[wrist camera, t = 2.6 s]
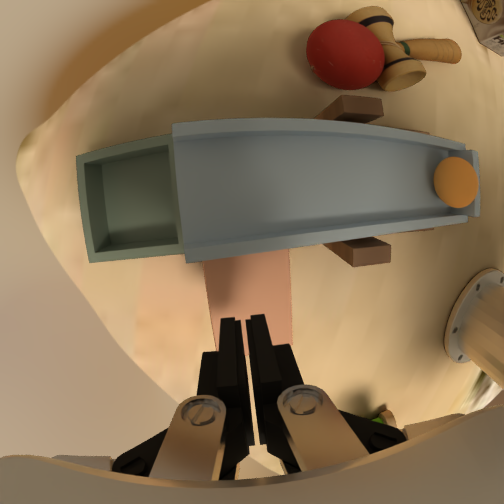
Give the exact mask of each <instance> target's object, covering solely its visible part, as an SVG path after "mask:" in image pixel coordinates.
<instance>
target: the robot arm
mask: <svg viewBox="0 0 504 504" xmlns="http://www.w3.org/2000/svg"><path fill="white" fill-rule="evenodd" d="M250 317H251V319H245V322H246V331H247V340H248V349H249V358H250V367H251V375H252V384H253V392H254V400H255V408H256V416H257V424H258V432H259V440H260V445H263V444H266V445H267V451H268V453H270V454H272V455H274V456H276V457H278V458H280V464H281V466H282V469H283V471H284V474H285V475H280V476H272V477H264V478H255V479H242V480H238V476H239V470H240V464H239V462H240V461H242V460H243V459H244V458H245V457H246V456H247V455H248V454H249V446H253V445H255V441H254V432H253V423H252V413H251V403H250V394H249V384H248V375H247V367H246V359H245V351H244V343H243V335H242V326H241V320H235V317H228V318H221V319H220V334H219V350H218V351H212V352H203V354H202V360H201V367H200V374H199V382H198V389H197V396H193V397H190V398H188V399H186V400H184V401H183V402H182V403H180V404H179V406H178V407H177V409H176V411H175V414H174V416H173V418H172V421H171V423H170V426H169V428H167V429H165V430H164V431H162V432H160V433H159V434H157V435H155V436H154V437H152V438H150V439H148V440H147V441H145V442H143V443H141V444H140V445H138V446H136V447H134V448H133V449H130V450H129V451H127V452H125V453H123V454H122V455H120V456H119V457H117V459H112V458H111V457H110V456H68V455H57V456H55V457H52V458H48V457H42V456H34V455H10V456H5V457H2V458H0V504H504V404H503V405H497V406H492V407H487V408H484V409H481V410H478V411H475V412H472V413H469V414H466V415H465V414H460V413H457V414H451V415H448V416H444V417H440V418H436V419H432V420H428V421H424V422H420V423H415V424H410V425H405V426H404V428H403V429H400V430H399V429H398V428H395V427H393V426H390V425H386V424H383V423H379V422H376V421H372V420H369V419H366V418H362V417H359V416H356V415H353V414H350V413H347V412H344V411H341V410H338V409H337V408H336V406H335V405H334V404H333V402H332V401H331V399H330V398H329V396H328V395H327V394H326V393H325V392H324V391H323V390H322V389H320V388H318V387H316V386H312V385H304V382H303V380H302V377H301V374H300V371H299V368H298V366H297V363H296V360H295V357H294V355H293V352H292V349H291V346H290V344H289V343H287V344H280V345H272V341H271V337H270V333H269V329H268V325H267V321H266V317H265V314H257V315H250ZM444 343H445V350H446V353H447V355H448V356H449V357H450V358H451V359H452V360H453V361H455V362H456V363H464V362H468V361H470V360H472V361H473V362H474V363H475V364H476V365H477V366H478V367H480V368H481V369H482V370H483V371H484V372H485V373H486V374H487V375H488V376H489V377H490V378H492V379H493V380H494V381H495V382H496V383H497V384H498V385H499V386H500V387H501V388H502V389H503V390H504V274H503V273H502V272H501V271H499V270H497V269H492V268H490V269H486V270H484V271H482V272H480V273H479V274H477V275H476V276H475V277H474V278H473V279H472V280H471V281H470V282H469V283H468V284H467V286H466V287H465V289H464V290H463V291H462V293H461V294H460V296H459V298H458V300H457V301H456V303H455V305H454V307H453V310H452V312H451V314H450V317H449V320H448V323H447V327H446V331H445V338H444Z"/></svg>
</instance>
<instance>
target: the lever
mask: <svg viewBox="0 0 504 504" xmlns="http://www.w3.org/2000/svg"><path fill="white" fill-rule="evenodd" d="M172 137H173V144H174V158H175V170H176V181H177V191H178V201H179V210H180V218H181V226H182V234H183V242H184V253H185V260H186V263H193V262H200V261H202V263H203V270H204V277H205V284H206V291H207V298H208V304H209V310H210V317H211V323H212V329H213V335H214V340H215V346H216V351H218V350H219V334H220V319H221V318H228V317H235V320H241V326H242V335H243V343H244V351H245V356H247V355H249V349H248V340H247V331H246V322H245V319H251V317H250V315H257V314H265V317H266V321H267V325H268V329H269V333H270V337H271V341H272V345H280V344H287V343H289V344H290V346H291V345H293V340H292V305H291V280H290V260H289V248H296V247H303V246H310V245H317V244H324V243H330V242H337V241H344V240H351V239H358V238H364V237H371V236H378V235H385V234H392V233H398V232H405V231H412V230H419V229H425V228H432V227H439V226H445V225H452V224H459V223H466V222H468V216H471V217H479V216H480V174H479V159H478V152H477V151H474V150H466V148H465V144H463V143H459V142H456V141H452V140H448V139H444V138H440V137H436V136H431V135H427V134H422V133H417V132H412V131H407V130H402V129H396V128H390V127H383V126H377V125H369V124H362V123H353V122H343V121H332V120H319V119H300V118H235V119H216V120H202V121H191V122H181V123H173V124H172ZM448 157H460V158H462V159H464V160H466V161H467V162H469V163H470V164H471V165H472V167H473V168H474V170H475V172H476V174H477V177H478V182H479V187H478V192H477V195H476V197H475V199H474V200H473V202H472V203H470V204H469V205H467V206H465V207H462V208H454V207H451V206H449V205H447V204H445V203H444V202H443V201H442V200H441V199H440V198H439V196H438V195H437V193H436V191H435V187H434V181H433V179H434V172H435V169H436V167H437V166H438V164H439V163H440V162H441V161H442V160H444V159H446V158H448Z"/></svg>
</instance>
